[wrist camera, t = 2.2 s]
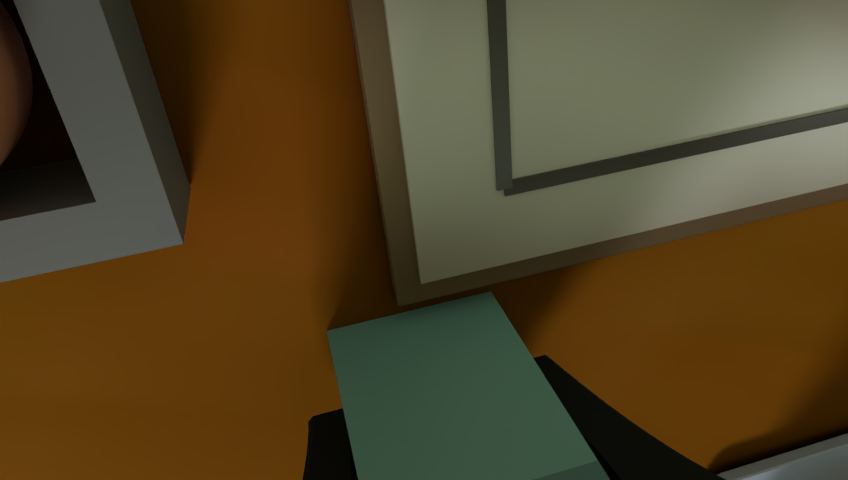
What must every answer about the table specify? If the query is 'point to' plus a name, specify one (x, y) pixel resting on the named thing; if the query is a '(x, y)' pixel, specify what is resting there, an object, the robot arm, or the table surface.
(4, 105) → the button
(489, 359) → the teal banded box
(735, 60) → the clipboard with paper sheet
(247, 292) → the table surface
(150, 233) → the button housing
